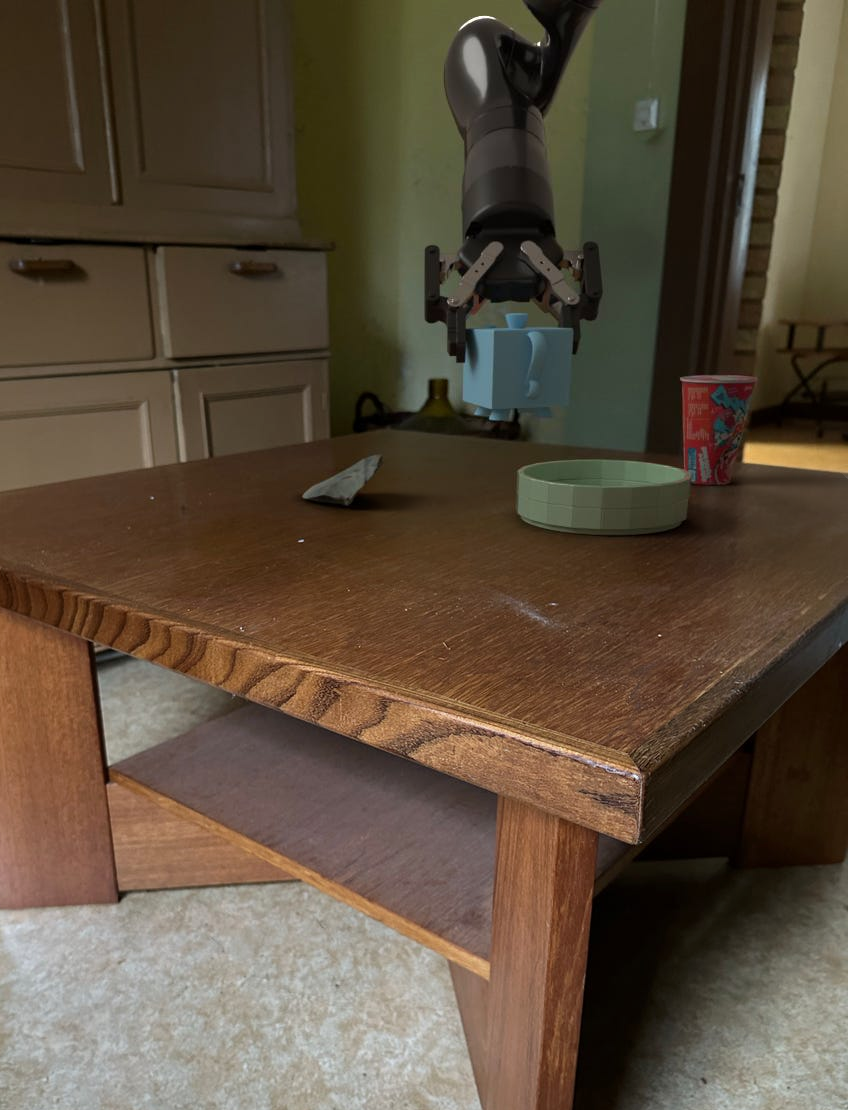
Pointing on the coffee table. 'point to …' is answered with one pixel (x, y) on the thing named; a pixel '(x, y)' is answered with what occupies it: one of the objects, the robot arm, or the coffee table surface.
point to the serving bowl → (603, 496)
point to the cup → (714, 424)
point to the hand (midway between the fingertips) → (513, 354)
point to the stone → (345, 482)
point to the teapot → (517, 368)
